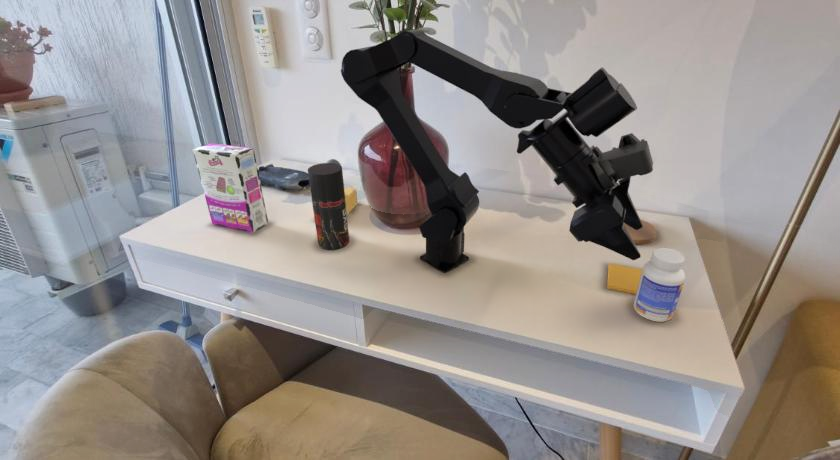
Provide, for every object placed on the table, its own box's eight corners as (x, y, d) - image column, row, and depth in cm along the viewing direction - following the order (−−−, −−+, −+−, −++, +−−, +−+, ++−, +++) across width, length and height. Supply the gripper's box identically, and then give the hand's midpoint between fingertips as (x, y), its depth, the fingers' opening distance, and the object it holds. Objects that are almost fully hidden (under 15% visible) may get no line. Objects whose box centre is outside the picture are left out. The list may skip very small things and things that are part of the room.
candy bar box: (270, 223, 91) (255, 147, 83) (254, 234, 87) (236, 155, 79) (228, 215, 95) (210, 141, 87) (211, 225, 91) (190, 148, 83)
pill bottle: (677, 325, 62) (697, 267, 57) (637, 320, 63) (653, 263, 58) (666, 301, 67) (684, 247, 62) (628, 297, 68) (643, 243, 63)
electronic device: (249, 191, 110) (295, 193, 103) (245, 169, 108) (291, 170, 101) (276, 183, 117) (320, 184, 111) (272, 162, 116) (317, 162, 109)
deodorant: (349, 249, 81) (341, 173, 74) (316, 251, 81) (305, 175, 74) (349, 234, 87) (342, 162, 79) (319, 236, 86) (309, 163, 79)
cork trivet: (642, 250, 80) (643, 245, 79) (591, 231, 86) (592, 226, 86) (664, 232, 86) (665, 227, 85) (615, 215, 92) (616, 211, 92)
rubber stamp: (341, 223, 91) (335, 168, 85) (315, 220, 92) (308, 166, 86) (358, 203, 99) (353, 152, 94) (334, 201, 100) (328, 151, 95)
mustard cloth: (655, 298, 67) (656, 295, 67) (607, 288, 70) (607, 285, 69) (653, 274, 73) (653, 271, 73) (608, 266, 75) (609, 263, 75)
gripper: (616, 139, 48) (702, 246, 49) (626, 104, 63) (692, 187, 64) (536, 193, 55) (613, 287, 56) (562, 150, 69) (623, 225, 70)
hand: (638, 242), depth 61 cm, fingers open, 9 cm apart
